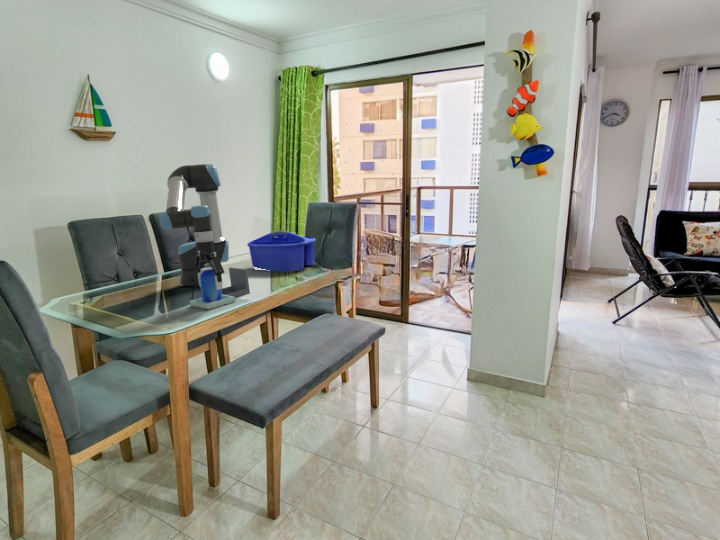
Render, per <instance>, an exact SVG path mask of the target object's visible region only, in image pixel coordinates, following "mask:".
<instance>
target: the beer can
mask: <svg viewBox="0 0 720 540" xmlns="http://www.w3.org/2000/svg"><path fill="white" fill-rule="evenodd" d="M200 270H201V271H200V273H199V279H200V286H201V287H200V286H199V287H200V291H201V296H202V297H201V298H202V299H203V302H204V303H207V304H209V303H213V302H216V301H220V300H222V294H221V289H219V290H217V289H216V282H215V272H214V271H213V269H212V267H211V266H207V267H204V268H202V269H200Z"/></svg>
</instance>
